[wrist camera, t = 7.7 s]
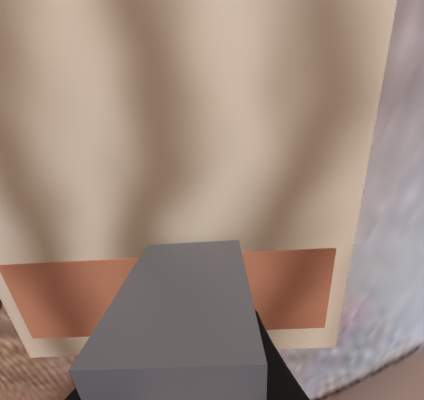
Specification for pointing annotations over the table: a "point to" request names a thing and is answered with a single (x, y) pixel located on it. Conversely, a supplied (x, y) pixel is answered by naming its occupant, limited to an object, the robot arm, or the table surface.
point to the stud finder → (177, 330)
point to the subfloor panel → (183, 151)
